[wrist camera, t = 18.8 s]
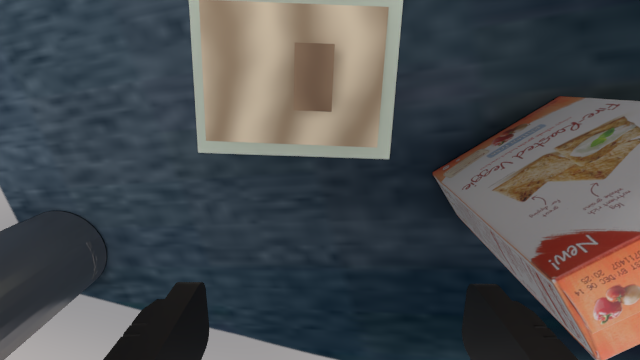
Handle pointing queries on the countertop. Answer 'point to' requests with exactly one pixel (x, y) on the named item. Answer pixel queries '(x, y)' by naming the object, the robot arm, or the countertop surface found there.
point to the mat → (381, 152)
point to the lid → (292, 72)
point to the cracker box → (563, 213)
